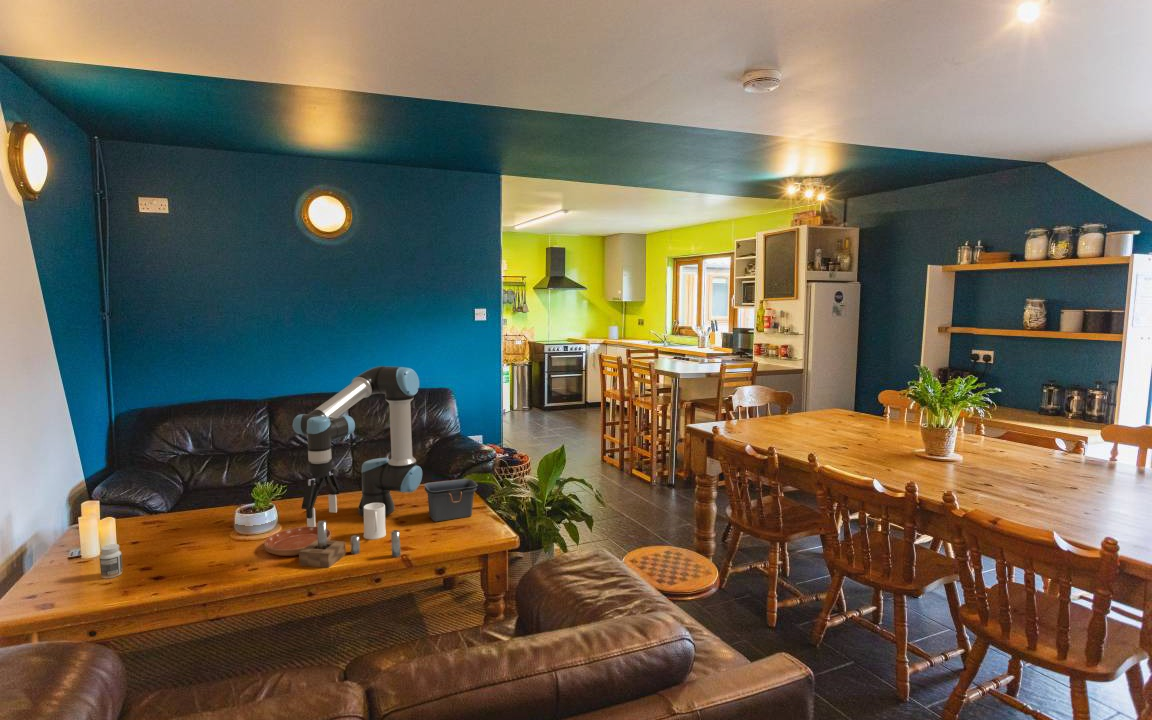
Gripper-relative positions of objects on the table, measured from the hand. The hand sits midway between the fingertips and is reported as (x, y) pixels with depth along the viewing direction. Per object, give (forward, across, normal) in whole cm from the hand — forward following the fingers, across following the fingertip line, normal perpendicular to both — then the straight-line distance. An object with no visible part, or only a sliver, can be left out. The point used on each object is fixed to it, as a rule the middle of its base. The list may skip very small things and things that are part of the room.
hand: (322, 519), depth 212 cm
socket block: (+15, +1, 0) cm, 15 cm away
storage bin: (+16, -48, +30) cm, 59 cm away
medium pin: (+15, -7, +24) cm, 29 cm away
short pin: (+15, -7, +8) cm, 19 cm away
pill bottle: (+14, +24, -62) cm, 68 cm away
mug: (+16, -22, +8) cm, 28 cm away
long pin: (+15, +1, 0) cm, 15 cm away
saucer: (+16, -9, -16) cm, 24 cm away
